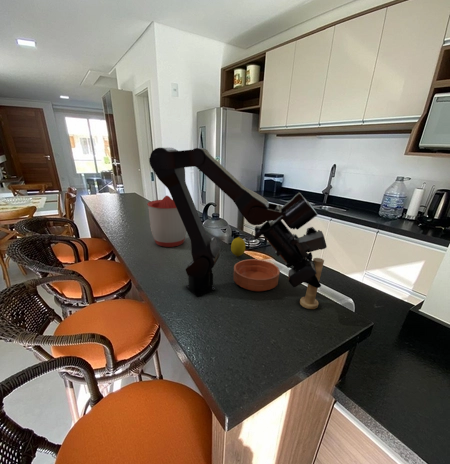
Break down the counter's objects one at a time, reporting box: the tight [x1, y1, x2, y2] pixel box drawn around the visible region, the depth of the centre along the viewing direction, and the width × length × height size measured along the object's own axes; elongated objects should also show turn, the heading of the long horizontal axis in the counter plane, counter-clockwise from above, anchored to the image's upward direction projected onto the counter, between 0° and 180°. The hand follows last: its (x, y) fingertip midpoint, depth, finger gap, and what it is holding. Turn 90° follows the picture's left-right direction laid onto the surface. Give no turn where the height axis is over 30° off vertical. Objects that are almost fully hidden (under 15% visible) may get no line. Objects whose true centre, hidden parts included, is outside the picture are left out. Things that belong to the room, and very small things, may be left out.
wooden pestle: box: [299, 257, 325, 310], centre depth 66 cm, size 5×5×14 cm
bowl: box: [232, 258, 281, 292], centre depth 78 cm, size 14×14×4 cm
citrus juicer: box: [147, 195, 187, 248], centre depth 104 cm, size 16×17×20 cm
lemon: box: [230, 236, 246, 258], centre depth 95 cm, size 6×6×8 cm
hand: (318, 284), depth 65 cm, fingers closed on wooden pestle, 2 cm apart
